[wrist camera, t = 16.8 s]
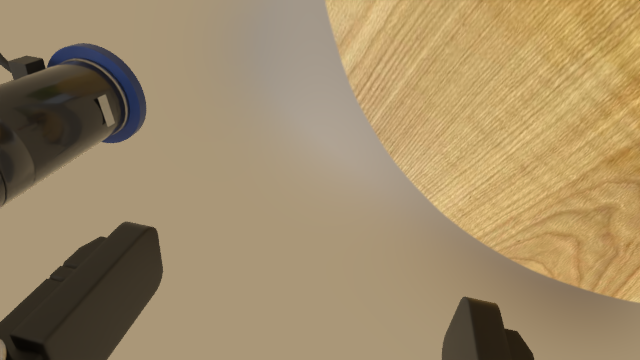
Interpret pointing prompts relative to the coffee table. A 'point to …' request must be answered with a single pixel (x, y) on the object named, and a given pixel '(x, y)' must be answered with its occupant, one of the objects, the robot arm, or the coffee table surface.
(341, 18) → the coffee table surface
